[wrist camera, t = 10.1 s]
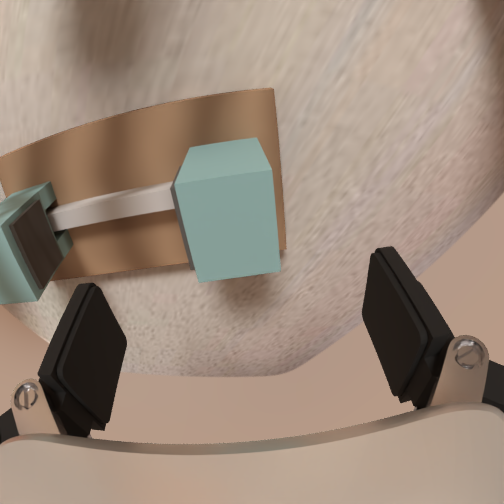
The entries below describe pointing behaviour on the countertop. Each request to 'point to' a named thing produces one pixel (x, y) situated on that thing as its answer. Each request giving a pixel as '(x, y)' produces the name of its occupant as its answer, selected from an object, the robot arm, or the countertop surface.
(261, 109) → the rail
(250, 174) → the mint green block
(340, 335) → the countertop surface
